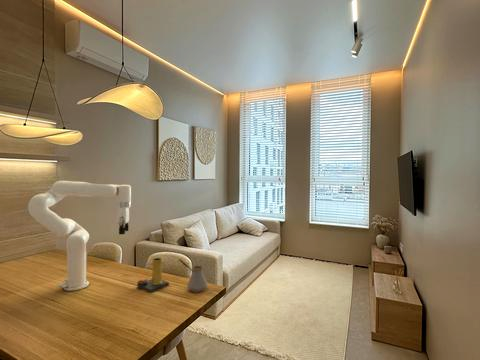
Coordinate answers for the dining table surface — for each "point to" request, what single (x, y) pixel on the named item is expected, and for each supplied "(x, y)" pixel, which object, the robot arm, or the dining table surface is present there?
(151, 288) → the scale
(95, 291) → the dining table surface
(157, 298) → the dining table surface
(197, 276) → the coffee pot
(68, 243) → the robot arm
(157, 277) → the vase
